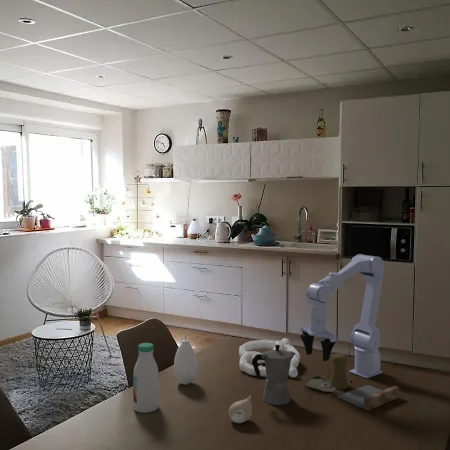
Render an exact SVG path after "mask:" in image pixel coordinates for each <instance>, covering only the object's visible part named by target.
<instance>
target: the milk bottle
mask: <svg viewBox="0 0 450 450" xmlns="http://www.w3.org/2000/svg"><path fill="white" fill-rule="evenodd" d="M137 347H138V351H137V352H138V357H137V360H136V363H135V366H134V367H133V378H132V379H133V380H132V381H133V385H132V387H133V392H132V393H133V397H132V398H133V399H132V401H133V410H135V412H137V413H141V414H149V413H152V412H155V411H156V410H157V409H159V405H160V403H159V402H160V401H159V399H160V398H159V397H160V394H159V393H160V391H159V390H160V389H159V388H160V387H159V385H160V384H159V382H160V381H159V377H160V375H159V367H158V364H157V362H156V360H155V357H154V354H153V353H154V344H153V343H151V342H141V343H139V344H138V346H137Z"/></svg>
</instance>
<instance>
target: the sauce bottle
mask: <svg viewBox="0 0 450 450" xmlns="http://www.w3.org/2000/svg"><path fill="white" fill-rule="evenodd" d="M173 361H174V363H173V372H174V375H175V379H176V380H177V381H178V382H179V383H180V384H181V385H183V386H184V385H189V384H190V383H191V382H193V380H194V378H195V377H196V374H197V367H198V365H197V364H198V363H197V361H198V360H197V356H196V352H195V349H194V348H193V346H192V345H191V343H190V340H188V339H187V334H186V333H185V334H184V339H182V340H181V343H180V345H179V346H178V348H177V350H176V352H175V355H174V360H173Z"/></svg>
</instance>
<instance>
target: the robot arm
mask: <svg viewBox="0 0 450 450" xmlns="http://www.w3.org/2000/svg"><path fill="white" fill-rule="evenodd" d="M385 265H386V264H385V262H384V260H383V259H382V258H381V256H373V255H366V254H363V253H359V254H356V255H355V256H353V257H352V258H351V261H350V262H349V263H348V264H346V265H345V266H344V267H343V268H340V270H339V271H338V272H329V273H328V275H327V276H325V277H324V278H322V279H319V280H318V281H317V283H316V282H314V283H311V284H310V285H308V287H307V290H306V291H305V295H306V297H307V299H308V303H309V326H305V325H303V326H300V329H299V331H300V333H301V334H300V336H299V337H300V339H301V341H302V343H303V346H304V349H305V354H306V355H307V356H309V355H313V348H314V347H313V346H314V340H315V337H317V338H320V339H323V340H321V341H320V344H321V349H322V359H323V362H326V361H329V360H330V356H331V353H332V351H333V348H334V346H335V344H336V343H337V335H336V334H333V333H331V332H329V331H327V311H328V310H327V307H328V305H327V304H328V303H327V302H329V300H330V298H331V296H332V295H333V293H335V292H336V291H337V290H338V289H340V288H341V287H342V286H343V285H344V281H346V280H347V279H349V278H350V277H353V276H354V275H356V274H357V273H360V275H362V276H363V278H364V279H365V280H366V284H365V292H364V297H363V303H362V308H361V314H360V320H359V322H358V323H356V324H355V325H354V326H353V330H352V333H351V334H350V343H351V344H352V345H353V348H354V368H353V369H350V370H349V373H352V374H354V375H357V376H358V377H359V376H360V377H362V378H365V379H369V378H372V377H375V376H378V375H380V374H383V371H382V370H381V353H380V351H379V348H380V346H381V331H380V329H378V327H377V326H376V321H377V315H378V311H379V304H380V298H381V291H382V286H383V280H384V272H385Z"/></svg>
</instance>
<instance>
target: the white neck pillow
mask: <svg viewBox="0 0 450 450" xmlns="http://www.w3.org/2000/svg"><path fill="white" fill-rule="evenodd" d="M275 345H280V348H279V350H284V351H291V352H294V353H296V354H295V355H294V357H293V358H292V360H291V363H290V369H289V375H288V377H290V378H297V377H298V375H299V372H298V369H297V368H298V366H299V364H300V363H299V362H300V360H301V354H300V353H299V351H298V350H297V349H296V348H295V347H294V346H293V345H291V341H290V339H288V338H287V337H284V338H282V339H281V340H278V339H276V340H271V339H266V338H265V339H262V338H261V339H259V340H257V339H255V340H250V341H247V342H245V343H243V344H242V345H240V346H239V348H238V354H239V369H240V371H243V372H245V373H246V374H248V375H250V376H256V373H255V370H254V367H253V364H252V359H253V358H254V357H255V355H257V354H263V353H262V352H259V351H255V350H259V349H260V350H261V349H269V350H276V348H275ZM253 350H254V351H253ZM257 363H258V364H260V365H258V368H259V370H260V376H264V378H265V377H266V378H267V375H266V367H265V366H264V365H261V364H265V360H258V361H257Z"/></svg>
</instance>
